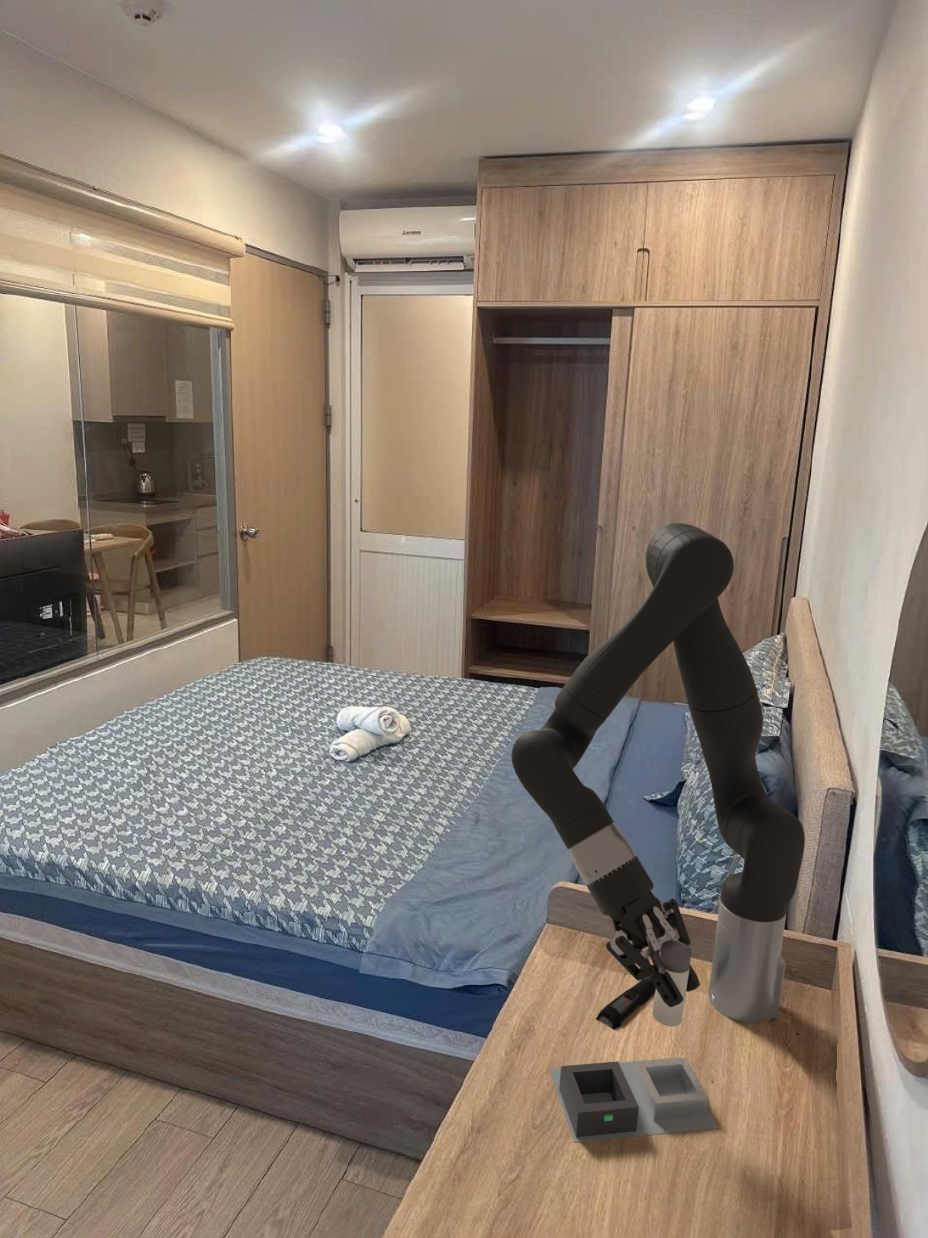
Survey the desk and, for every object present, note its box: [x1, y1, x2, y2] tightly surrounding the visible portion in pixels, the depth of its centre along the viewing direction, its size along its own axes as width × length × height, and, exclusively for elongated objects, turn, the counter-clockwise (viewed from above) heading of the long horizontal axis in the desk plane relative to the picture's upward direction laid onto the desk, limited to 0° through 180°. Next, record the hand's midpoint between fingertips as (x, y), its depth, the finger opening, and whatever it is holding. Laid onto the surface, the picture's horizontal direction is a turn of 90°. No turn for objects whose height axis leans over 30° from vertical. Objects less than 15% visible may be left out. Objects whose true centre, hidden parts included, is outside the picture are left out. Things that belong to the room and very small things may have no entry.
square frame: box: [634, 1057, 710, 1121], centre depth 110 cm, size 7×7×2 cm
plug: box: [652, 940, 693, 1027], centre depth 106 cm, size 4×4×10 cm
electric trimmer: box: [595, 979, 656, 1031], centre depth 129 cm, size 4×16×3 cm, turn 137°
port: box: [559, 1060, 639, 1137], centre depth 107 cm, size 8×8×4 cm
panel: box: [548, 1056, 720, 1144], centre depth 110 cm, size 18×12×1 cm, turn 99°
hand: (685, 995), depth 105 cm, fingers closed on plug, 3 cm apart
